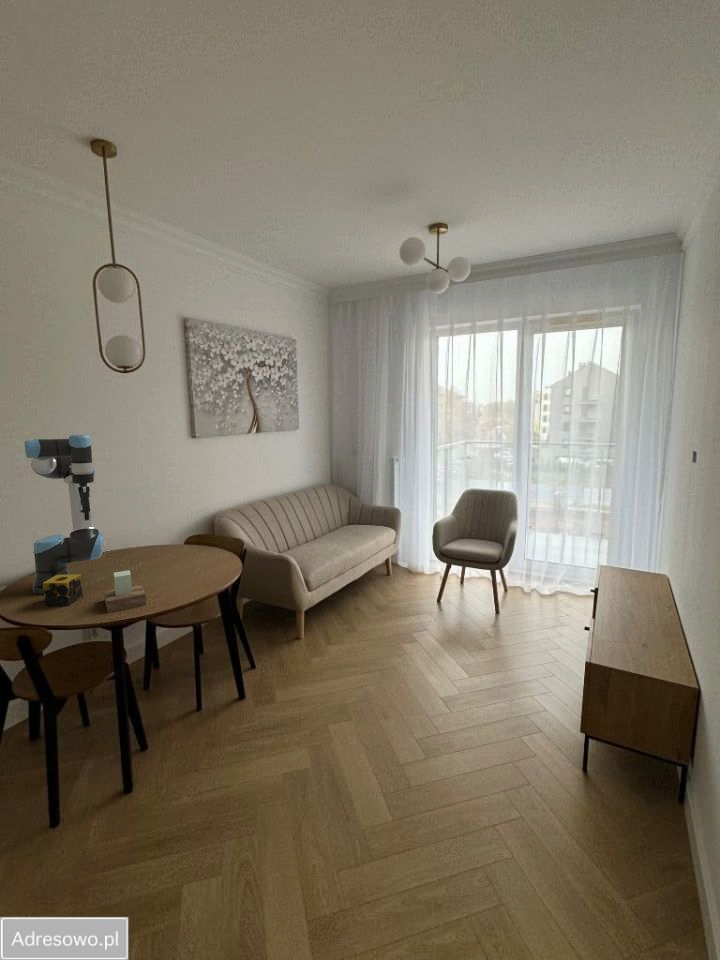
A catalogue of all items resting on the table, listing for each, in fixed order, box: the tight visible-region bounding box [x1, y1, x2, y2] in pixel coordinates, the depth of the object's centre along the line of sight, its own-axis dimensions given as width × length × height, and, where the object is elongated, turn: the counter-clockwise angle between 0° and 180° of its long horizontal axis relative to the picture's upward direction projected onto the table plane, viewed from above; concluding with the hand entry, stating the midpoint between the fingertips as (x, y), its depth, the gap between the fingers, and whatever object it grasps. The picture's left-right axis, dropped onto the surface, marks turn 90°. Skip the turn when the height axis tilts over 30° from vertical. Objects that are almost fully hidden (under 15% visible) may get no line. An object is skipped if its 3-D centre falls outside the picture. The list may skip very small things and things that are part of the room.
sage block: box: [113, 570, 133, 596], centre depth 191 cm, size 6×6×8 cm
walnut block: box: [103, 583, 147, 613], centre depth 192 cm, size 14×14×5 cm
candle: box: [43, 573, 84, 606], centre depth 192 cm, size 10×10×10 cm
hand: (86, 524), depth 189 cm, fingers open, 13 cm apart
